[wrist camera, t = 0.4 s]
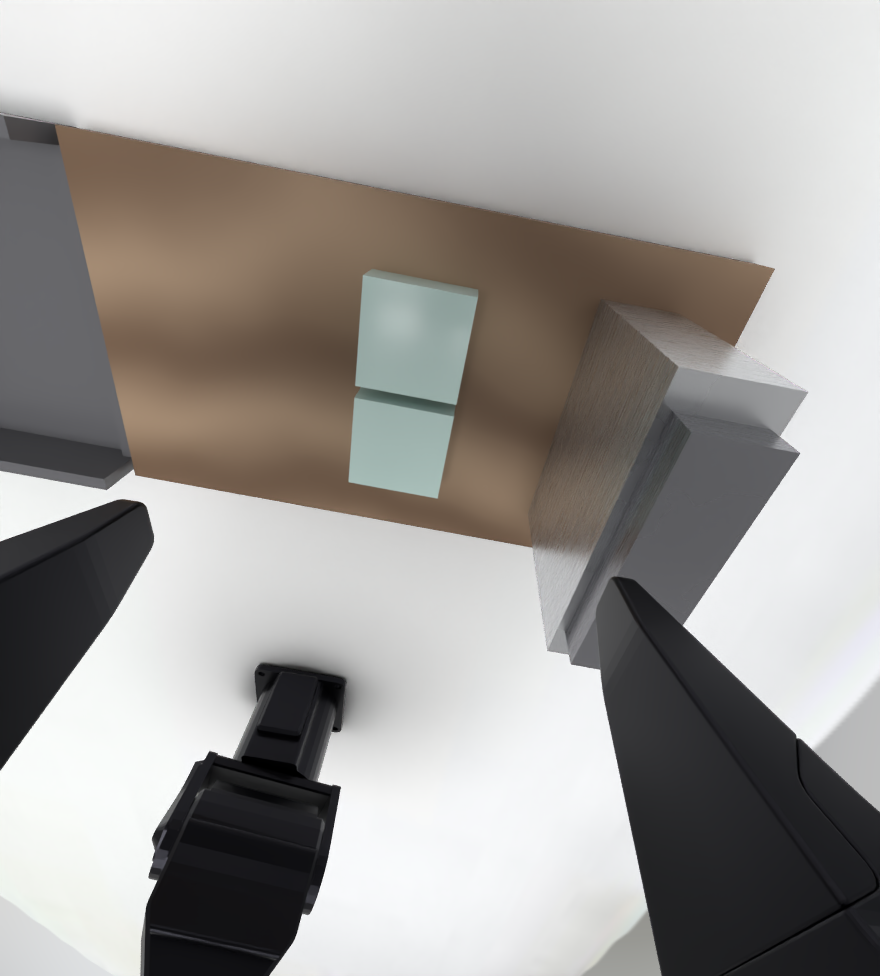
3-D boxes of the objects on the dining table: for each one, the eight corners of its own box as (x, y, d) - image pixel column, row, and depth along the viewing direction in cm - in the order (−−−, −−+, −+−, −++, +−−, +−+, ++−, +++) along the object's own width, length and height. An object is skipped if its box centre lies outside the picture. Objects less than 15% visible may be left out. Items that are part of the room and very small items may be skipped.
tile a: (440, 479, 22) (437, 498, 20) (356, 464, 22) (348, 482, 20) (455, 401, 20) (454, 416, 18) (363, 383, 19) (354, 397, 18)
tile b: (458, 390, 19) (456, 405, 18) (364, 372, 19) (355, 385, 18) (478, 289, 17) (477, 297, 16) (372, 268, 17) (362, 275, 16)
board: (614, 545, 25) (621, 563, 24) (153, 460, 24) (135, 475, 23) (753, 263, 17) (774, 268, 16) (86, 129, 17) (54, 124, 15)
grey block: (587, 524, 22) (643, 697, 15) (527, 513, 22) (551, 682, 15) (679, 314, 17) (843, 413, 9) (600, 298, 17) (700, 385, 9)
